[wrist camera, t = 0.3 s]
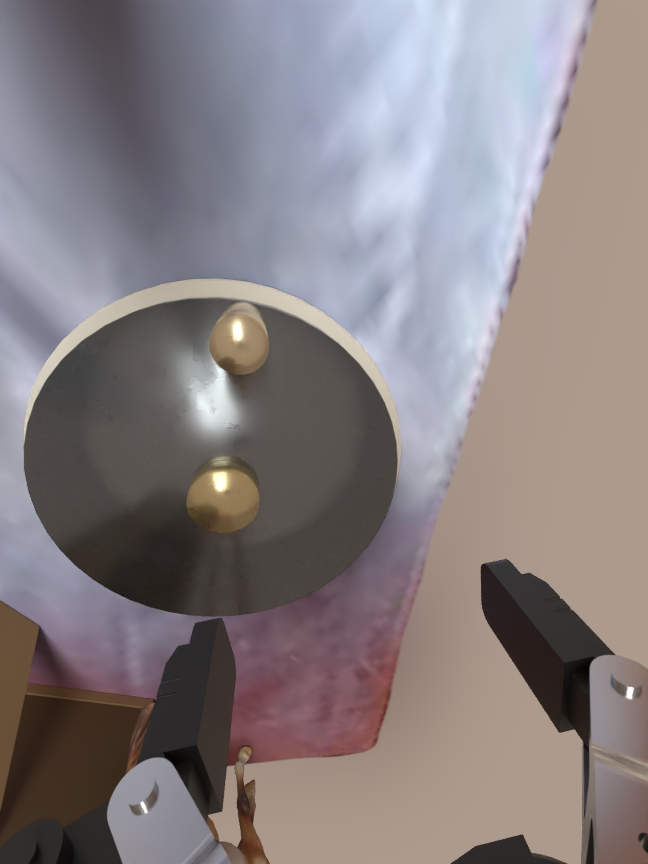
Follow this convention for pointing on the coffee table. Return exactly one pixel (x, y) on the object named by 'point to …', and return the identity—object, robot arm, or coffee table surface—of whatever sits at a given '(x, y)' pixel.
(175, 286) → the base plate
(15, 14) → the coffee table surface
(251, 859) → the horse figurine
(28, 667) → the photo frame
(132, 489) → the handwheel
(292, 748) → the coffee table surface
